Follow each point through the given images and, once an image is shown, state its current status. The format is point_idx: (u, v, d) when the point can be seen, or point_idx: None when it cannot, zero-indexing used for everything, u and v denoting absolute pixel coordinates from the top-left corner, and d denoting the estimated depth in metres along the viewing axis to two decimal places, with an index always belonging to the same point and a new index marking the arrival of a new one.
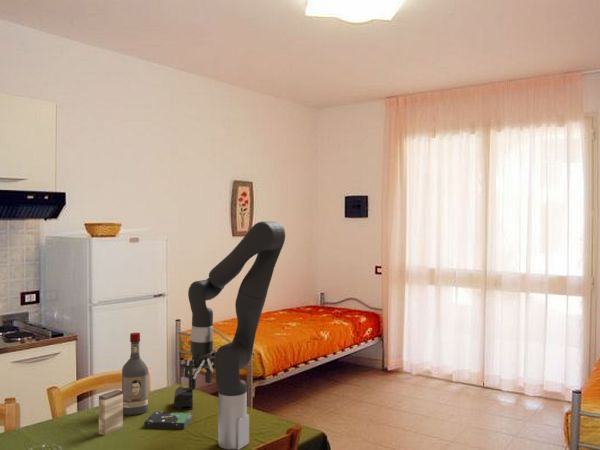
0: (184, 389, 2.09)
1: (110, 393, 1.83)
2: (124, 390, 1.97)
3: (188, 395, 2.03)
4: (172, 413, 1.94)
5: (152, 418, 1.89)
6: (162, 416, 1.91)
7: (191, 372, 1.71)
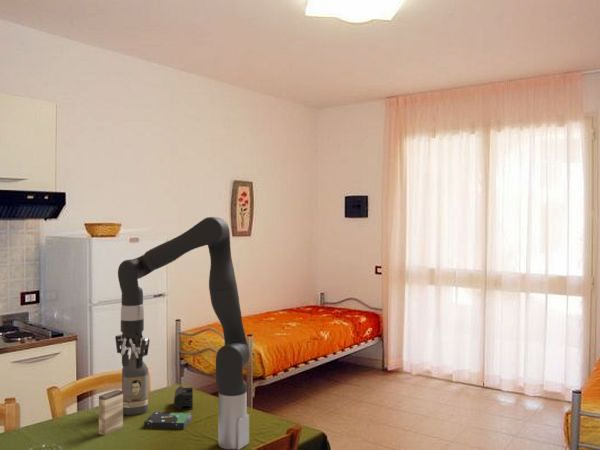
0: (184, 389, 2.09)
1: (110, 393, 1.83)
2: (124, 390, 1.97)
3: (188, 395, 2.03)
4: (172, 413, 1.94)
5: (152, 418, 1.88)
6: (162, 416, 1.90)
7: None
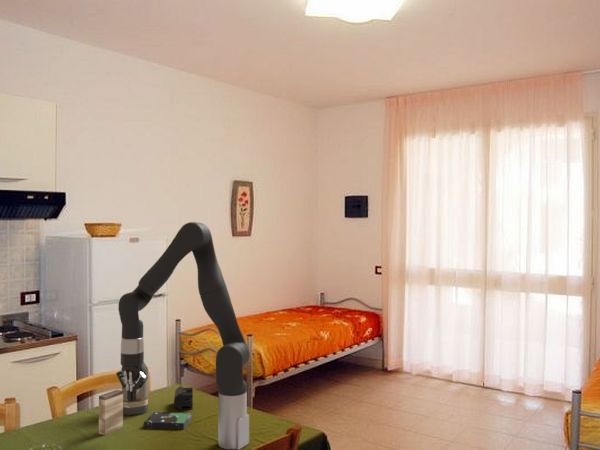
0: (184, 389, 2.09)
1: (110, 393, 1.83)
2: (124, 390, 1.97)
3: (188, 395, 2.03)
4: (171, 413, 1.93)
5: (151, 418, 1.88)
6: (161, 416, 1.90)
7: None
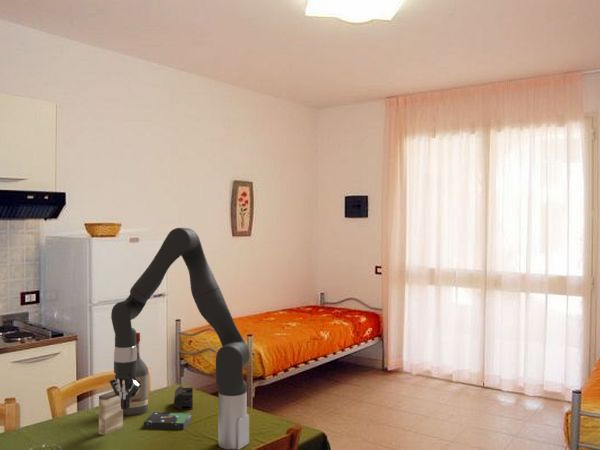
0: (184, 389, 2.09)
1: (110, 393, 1.83)
2: None
3: (188, 395, 2.03)
4: (171, 413, 1.93)
5: (151, 418, 1.88)
6: (161, 416, 1.90)
7: None
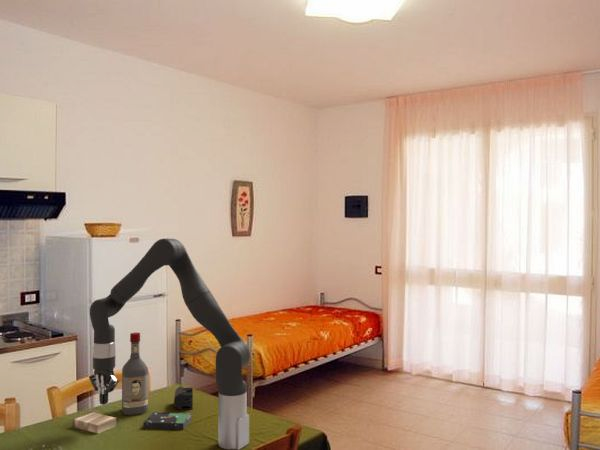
0: (184, 389, 2.09)
1: None
2: (124, 390, 1.97)
3: (188, 395, 2.03)
4: (171, 413, 1.93)
5: (151, 419, 1.88)
6: (161, 416, 1.90)
7: None
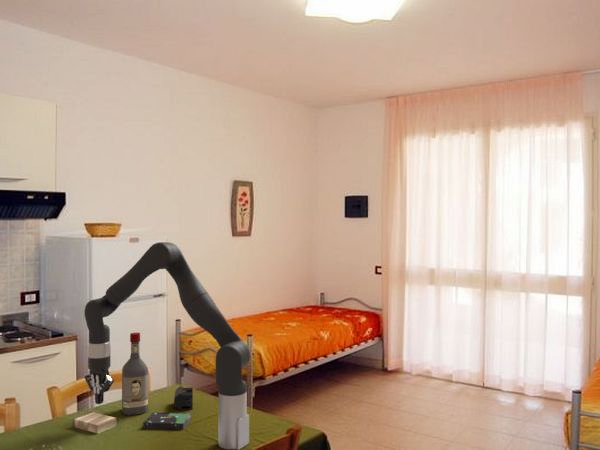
0: (184, 389, 2.09)
1: None
2: (124, 390, 1.97)
3: (188, 395, 2.03)
4: (171, 414, 1.93)
5: (151, 419, 1.88)
6: (161, 417, 1.90)
7: None
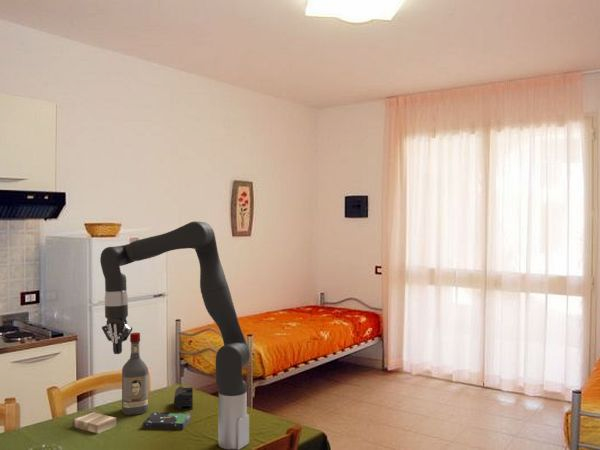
0: (184, 389, 2.09)
1: None
2: (124, 390, 1.97)
3: (188, 395, 2.03)
4: (170, 414, 1.93)
5: (151, 419, 1.88)
6: (161, 417, 1.90)
7: None
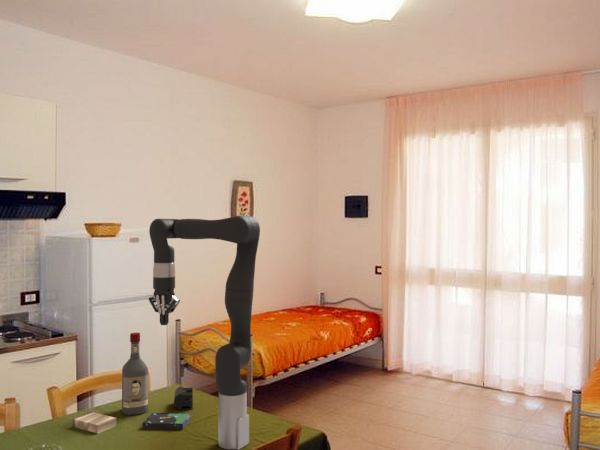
0: (184, 389, 2.09)
1: None
2: (124, 390, 1.97)
3: (188, 395, 2.03)
4: (170, 414, 1.93)
5: (150, 419, 1.88)
6: (160, 417, 1.90)
7: None
